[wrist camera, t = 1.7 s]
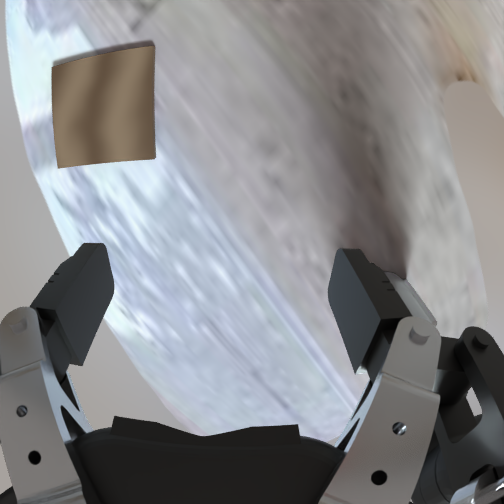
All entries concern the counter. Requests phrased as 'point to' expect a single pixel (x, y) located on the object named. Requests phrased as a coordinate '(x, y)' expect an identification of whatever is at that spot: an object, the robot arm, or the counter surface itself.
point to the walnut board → (104, 108)
